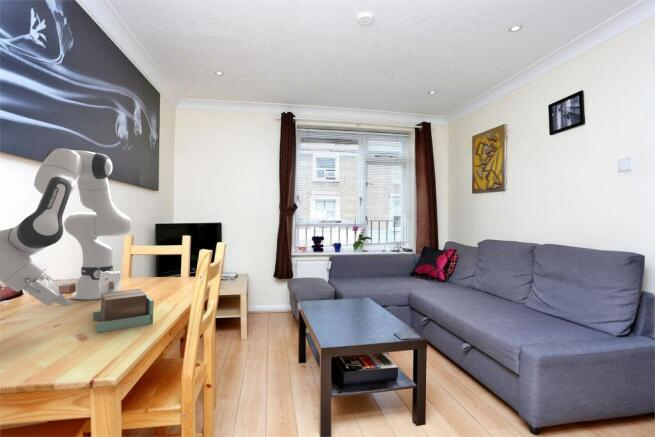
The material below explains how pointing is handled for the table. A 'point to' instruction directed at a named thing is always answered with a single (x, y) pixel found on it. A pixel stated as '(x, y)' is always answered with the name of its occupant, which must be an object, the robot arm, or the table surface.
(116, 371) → the table surface
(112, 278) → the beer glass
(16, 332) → the table surface
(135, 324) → the green bay
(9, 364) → the table surface
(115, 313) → the walnut block
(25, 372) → the table surface
